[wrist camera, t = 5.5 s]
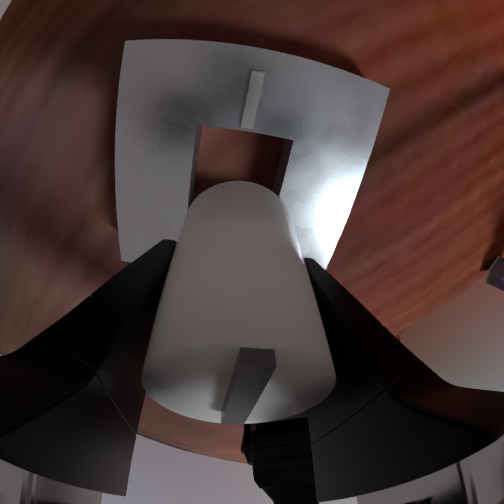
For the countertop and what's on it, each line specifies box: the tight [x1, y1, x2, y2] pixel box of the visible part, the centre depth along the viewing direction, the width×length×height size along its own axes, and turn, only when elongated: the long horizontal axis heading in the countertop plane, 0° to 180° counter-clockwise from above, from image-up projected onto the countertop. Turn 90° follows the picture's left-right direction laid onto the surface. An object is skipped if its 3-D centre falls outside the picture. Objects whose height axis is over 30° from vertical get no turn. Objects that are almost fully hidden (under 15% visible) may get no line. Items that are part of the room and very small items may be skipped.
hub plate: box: [115, 39, 390, 270], centre depth 15 cm, size 14×14×3 cm
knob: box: [141, 181, 336, 425], centre depth 7 cm, size 4×4×6 cm
